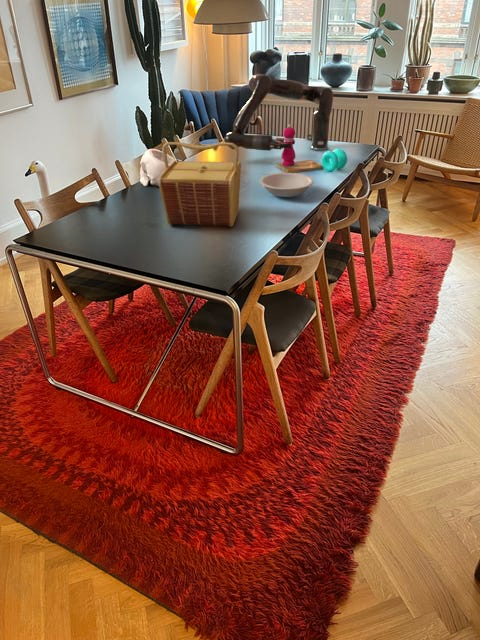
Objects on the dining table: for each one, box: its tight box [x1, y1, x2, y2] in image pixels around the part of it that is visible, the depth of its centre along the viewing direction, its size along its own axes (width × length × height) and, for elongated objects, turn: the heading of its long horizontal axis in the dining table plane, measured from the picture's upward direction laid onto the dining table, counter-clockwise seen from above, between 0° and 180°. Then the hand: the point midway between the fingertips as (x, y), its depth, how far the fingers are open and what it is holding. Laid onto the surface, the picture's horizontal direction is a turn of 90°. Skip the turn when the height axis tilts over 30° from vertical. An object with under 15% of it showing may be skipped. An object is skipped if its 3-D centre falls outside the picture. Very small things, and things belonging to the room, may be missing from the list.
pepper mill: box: [281, 123, 297, 166], centre depth 246 cm, size 7×7×20 cm
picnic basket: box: [158, 141, 242, 228], centre depth 185 cm, size 29×26×30 cm
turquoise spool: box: [321, 148, 348, 173], centre depth 244 cm, size 10×10×10 cm
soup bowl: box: [259, 172, 315, 198], centre depth 215 cm, size 24×24×7 cm
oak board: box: [277, 159, 324, 173], centre depth 251 cm, size 14×20×2 cm
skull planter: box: [139, 148, 177, 187], centre depth 230 cm, size 14×20×19 cm
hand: (292, 144), depth 245 cm, fingers open, 8 cm apart
